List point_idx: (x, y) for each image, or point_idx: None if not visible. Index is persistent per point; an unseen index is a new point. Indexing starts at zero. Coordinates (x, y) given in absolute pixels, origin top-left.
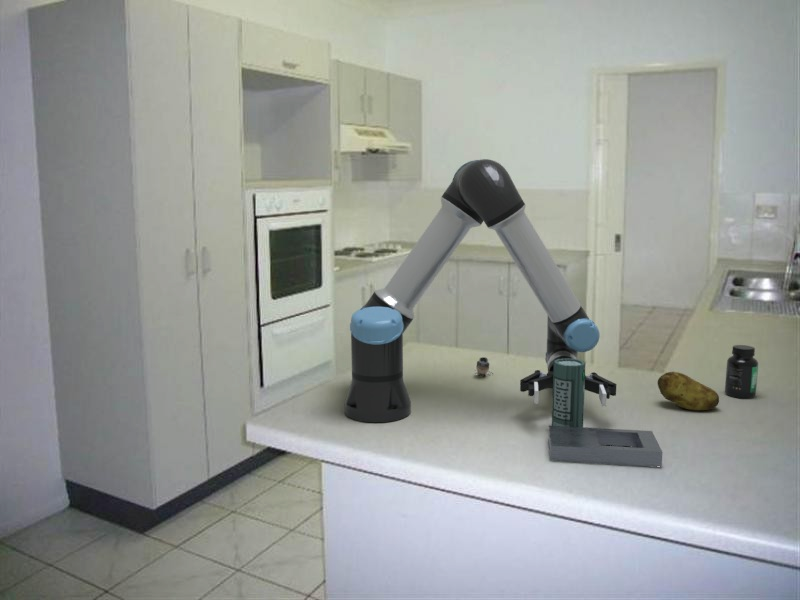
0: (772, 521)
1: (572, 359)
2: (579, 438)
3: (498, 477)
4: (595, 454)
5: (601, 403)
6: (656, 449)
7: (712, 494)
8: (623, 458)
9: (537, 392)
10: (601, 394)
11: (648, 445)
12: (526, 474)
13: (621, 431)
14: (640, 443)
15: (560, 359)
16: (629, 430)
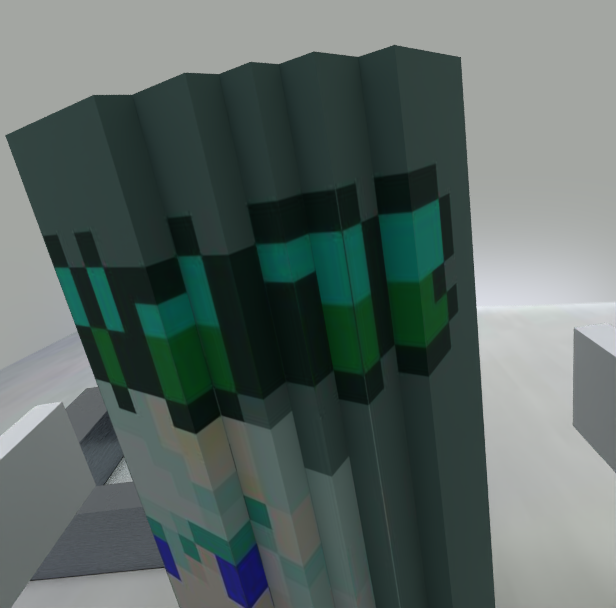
0: (71, 342)
1: (135, 101)
2: None
3: (513, 313)
4: None
5: (65, 521)
6: (89, 396)
7: (90, 370)
8: None
9: (581, 339)
10: (22, 482)
11: (92, 409)
12: None
13: (98, 491)
14: (89, 446)
15: (364, 60)
16: None
